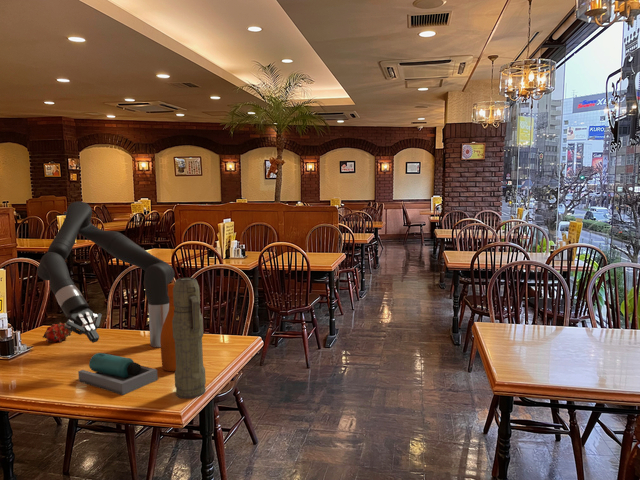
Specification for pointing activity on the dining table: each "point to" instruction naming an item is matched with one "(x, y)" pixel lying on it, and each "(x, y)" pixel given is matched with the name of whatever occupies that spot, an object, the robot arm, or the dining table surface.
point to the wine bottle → (168, 336)
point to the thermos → (188, 339)
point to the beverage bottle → (114, 365)
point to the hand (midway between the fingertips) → (95, 340)
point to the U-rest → (119, 380)
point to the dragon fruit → (56, 332)
